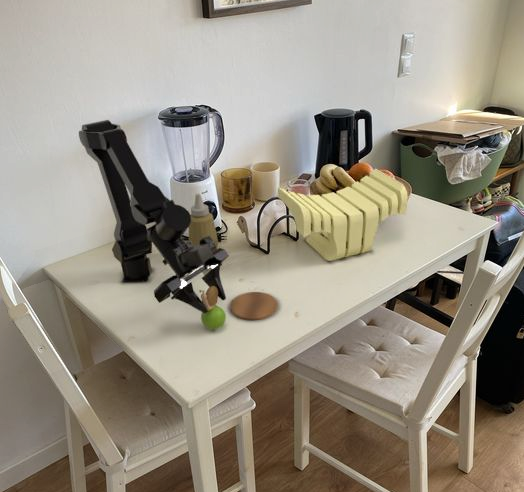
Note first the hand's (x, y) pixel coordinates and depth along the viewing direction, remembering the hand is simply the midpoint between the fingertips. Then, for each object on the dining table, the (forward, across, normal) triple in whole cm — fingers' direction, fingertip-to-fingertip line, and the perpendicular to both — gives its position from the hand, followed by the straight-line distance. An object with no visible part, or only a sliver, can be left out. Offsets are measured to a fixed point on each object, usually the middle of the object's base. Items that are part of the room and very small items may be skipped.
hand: (215, 306), depth 112 cm
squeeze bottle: (-14, +24, +23) cm, 36 cm away
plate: (+5, +12, +4) cm, 14 cm away
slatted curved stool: (+7, +48, +3) cm, 49 cm away
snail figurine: (+4, 0, +6) cm, 7 cm away
